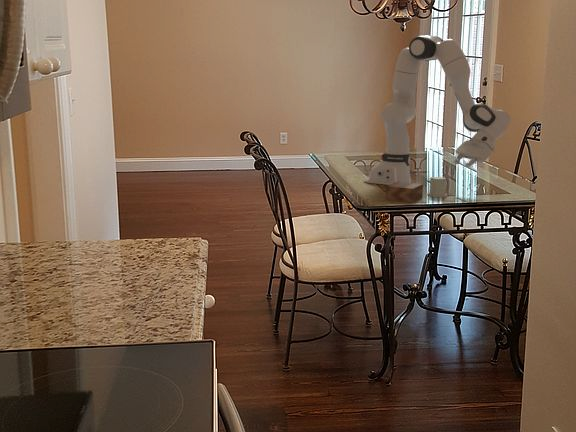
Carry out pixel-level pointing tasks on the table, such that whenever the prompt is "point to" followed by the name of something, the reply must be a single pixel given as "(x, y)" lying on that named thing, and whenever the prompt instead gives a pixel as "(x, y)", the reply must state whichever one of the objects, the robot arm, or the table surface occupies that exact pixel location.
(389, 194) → the walnut riser
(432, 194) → the sage block
